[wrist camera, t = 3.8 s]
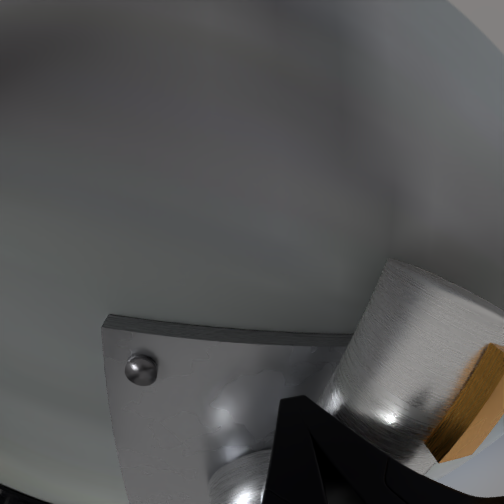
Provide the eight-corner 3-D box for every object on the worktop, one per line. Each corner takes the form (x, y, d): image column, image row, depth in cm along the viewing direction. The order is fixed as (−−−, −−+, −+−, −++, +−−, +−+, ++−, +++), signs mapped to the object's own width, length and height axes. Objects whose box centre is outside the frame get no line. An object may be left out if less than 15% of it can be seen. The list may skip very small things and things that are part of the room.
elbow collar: (304, 510, 15) (329, 586, 9) (195, 507, 13) (201, 597, 7) (457, 280, 11) (568, 349, 5) (319, 228, 10) (456, 320, 4)
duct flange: (139, 522, 16) (137, 558, 12) (108, 314, 11) (80, 366, 8) (341, 516, 18) (353, 546, 15) (449, 332, 14) (490, 365, 11)
